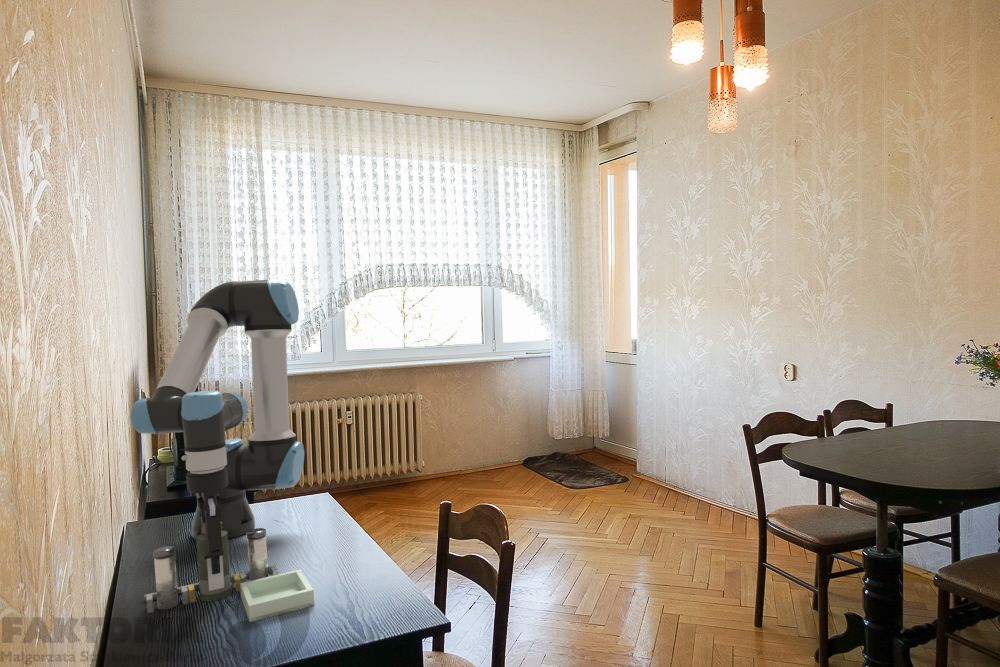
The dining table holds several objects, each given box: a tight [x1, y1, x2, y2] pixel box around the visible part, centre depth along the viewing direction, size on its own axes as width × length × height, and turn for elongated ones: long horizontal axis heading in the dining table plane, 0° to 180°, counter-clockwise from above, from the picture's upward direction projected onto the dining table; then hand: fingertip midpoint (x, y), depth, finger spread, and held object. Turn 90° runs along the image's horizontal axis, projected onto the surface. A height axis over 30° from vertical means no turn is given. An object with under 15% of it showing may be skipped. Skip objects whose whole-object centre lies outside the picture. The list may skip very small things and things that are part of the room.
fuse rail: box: [143, 527, 279, 614], centre depth 132 cm, size 7×25×11 cm, turn 119°
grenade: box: [194, 522, 233, 602], centre depth 130 cm, size 6×6×15 cm
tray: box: [240, 568, 315, 623], centre depth 126 cm, size 12×12×3 cm
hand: (214, 580), depth 130 cm, fingers open, 8 cm apart
